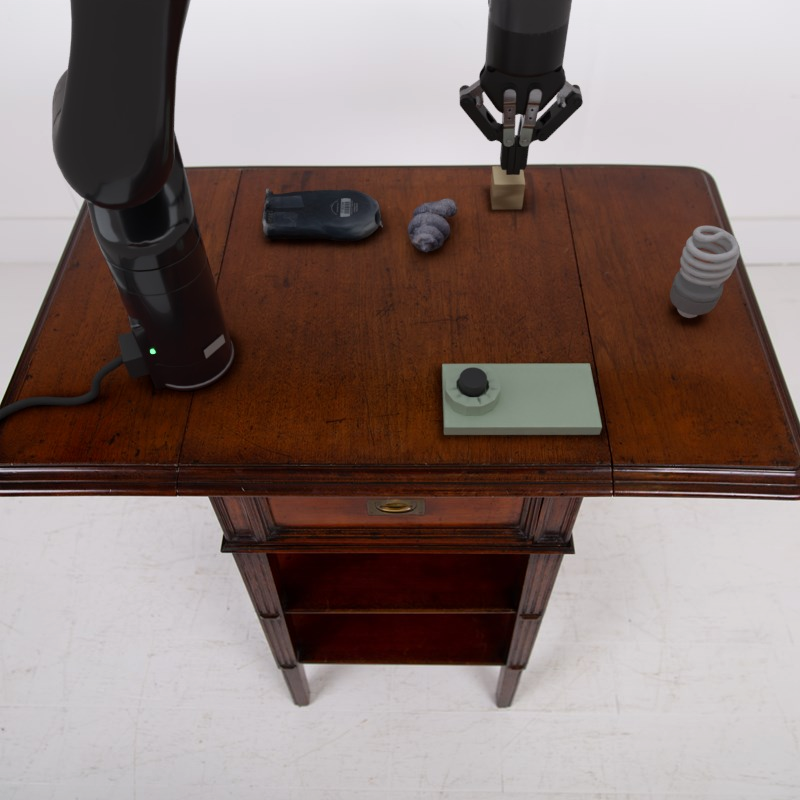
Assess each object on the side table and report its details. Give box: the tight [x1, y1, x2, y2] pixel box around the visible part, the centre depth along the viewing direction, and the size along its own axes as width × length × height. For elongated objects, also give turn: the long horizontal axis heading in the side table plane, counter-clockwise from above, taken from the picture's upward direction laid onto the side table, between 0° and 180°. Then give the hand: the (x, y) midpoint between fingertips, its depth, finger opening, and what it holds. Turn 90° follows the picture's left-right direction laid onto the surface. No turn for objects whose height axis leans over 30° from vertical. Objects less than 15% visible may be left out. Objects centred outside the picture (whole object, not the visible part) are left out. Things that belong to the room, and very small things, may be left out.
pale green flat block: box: [441, 362, 603, 436], centre depth 79 cm, size 16×9×3 cm, turn 89°
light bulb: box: [669, 225, 741, 319], centre depth 83 cm, size 6×6×12 cm
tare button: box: [459, 367, 487, 397], centre depth 78 cm, size 3×3×2 cm
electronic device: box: [262, 188, 383, 243], centre depth 98 cm, size 9×6×15 cm
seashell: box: [407, 197, 459, 253], centre depth 96 cm, size 5×5×10 cm
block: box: [489, 165, 526, 211], centre depth 101 cm, size 4×4×4 cm
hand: (512, 170), depth 84 cm, fingers closed
